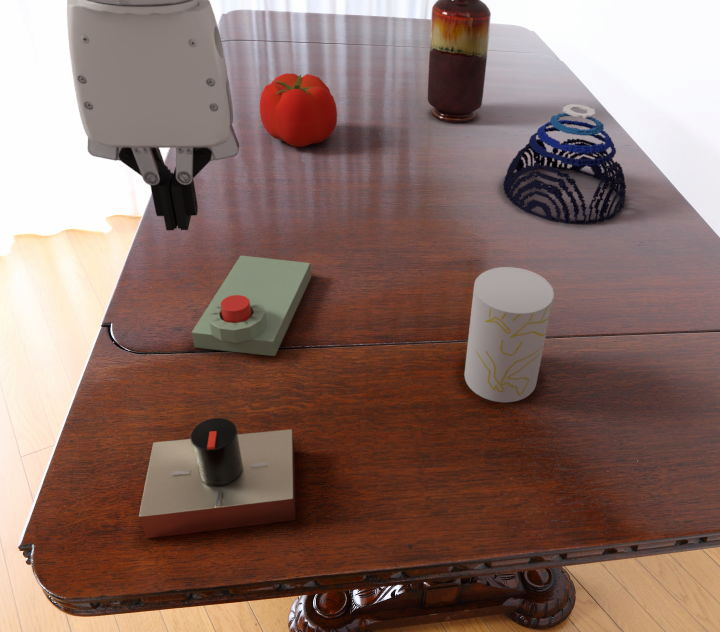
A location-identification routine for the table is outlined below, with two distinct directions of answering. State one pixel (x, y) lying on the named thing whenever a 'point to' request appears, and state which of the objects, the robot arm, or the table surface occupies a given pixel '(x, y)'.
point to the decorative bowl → (577, 165)
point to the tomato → (298, 109)
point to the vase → (458, 58)
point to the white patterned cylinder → (507, 333)
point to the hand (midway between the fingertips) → (179, 222)
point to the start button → (235, 309)
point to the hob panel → (219, 487)
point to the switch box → (255, 306)
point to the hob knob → (217, 451)
